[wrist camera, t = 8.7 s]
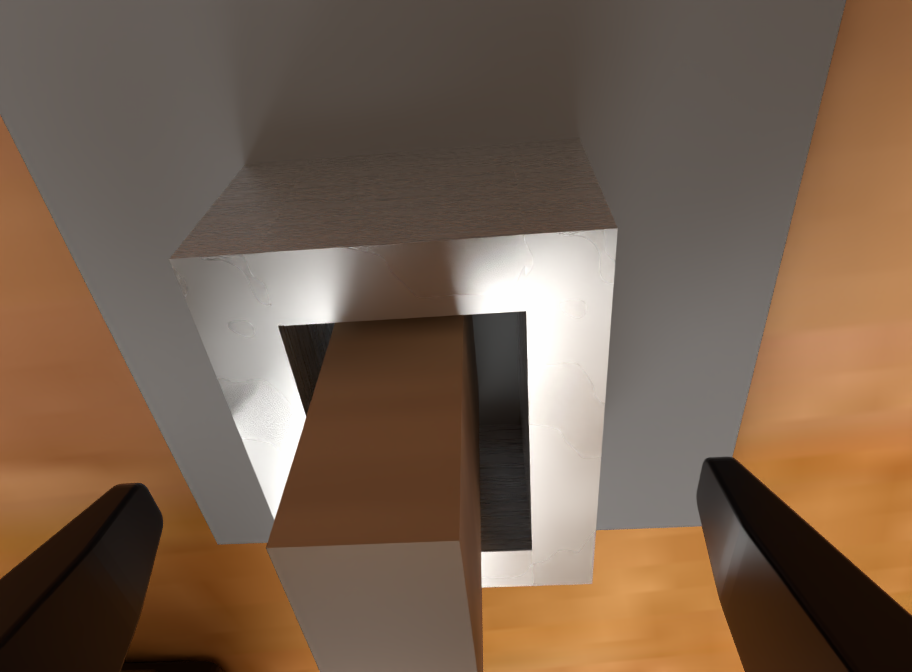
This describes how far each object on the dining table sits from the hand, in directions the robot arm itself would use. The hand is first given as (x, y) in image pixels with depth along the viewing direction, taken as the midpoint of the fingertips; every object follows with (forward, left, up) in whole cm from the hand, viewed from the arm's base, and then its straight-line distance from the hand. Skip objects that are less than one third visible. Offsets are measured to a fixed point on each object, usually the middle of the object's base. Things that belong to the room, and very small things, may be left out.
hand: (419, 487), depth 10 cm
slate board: (0, 0, -5) cm, 5 cm away
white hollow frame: (0, 0, -5) cm, 5 cm away
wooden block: (0, 0, -4) cm, 4 cm away
